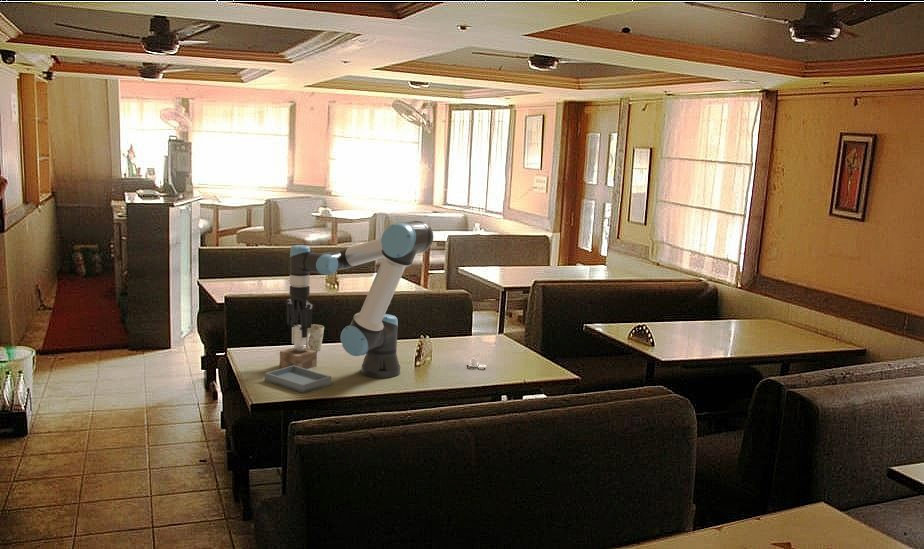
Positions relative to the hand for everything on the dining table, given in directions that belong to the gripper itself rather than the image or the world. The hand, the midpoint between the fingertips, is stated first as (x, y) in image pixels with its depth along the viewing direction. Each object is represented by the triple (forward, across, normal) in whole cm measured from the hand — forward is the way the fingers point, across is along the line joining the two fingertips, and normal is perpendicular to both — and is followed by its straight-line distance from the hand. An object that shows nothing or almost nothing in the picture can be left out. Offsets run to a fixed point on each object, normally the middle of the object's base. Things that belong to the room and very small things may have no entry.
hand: (298, 344), depth 297 cm
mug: (+9, +12, -19) cm, 24 cm away
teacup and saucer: (+10, -52, -47) cm, 71 cm away
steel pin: (+9, 0, 0) cm, 9 cm away
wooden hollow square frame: (+9, 0, 0) cm, 9 cm away
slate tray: (+9, -15, +14) cm, 22 cm away
